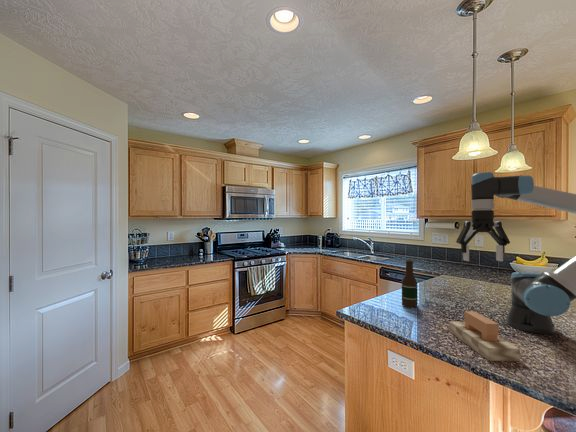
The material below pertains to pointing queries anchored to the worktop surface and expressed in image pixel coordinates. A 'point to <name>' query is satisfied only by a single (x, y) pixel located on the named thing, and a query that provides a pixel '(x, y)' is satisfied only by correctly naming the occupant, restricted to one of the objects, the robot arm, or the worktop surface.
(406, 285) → the beer bottle
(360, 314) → the worktop surface
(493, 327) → the orange-brown block
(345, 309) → the worktop surface
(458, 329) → the beige flat slotted piece
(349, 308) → the worktop surface
